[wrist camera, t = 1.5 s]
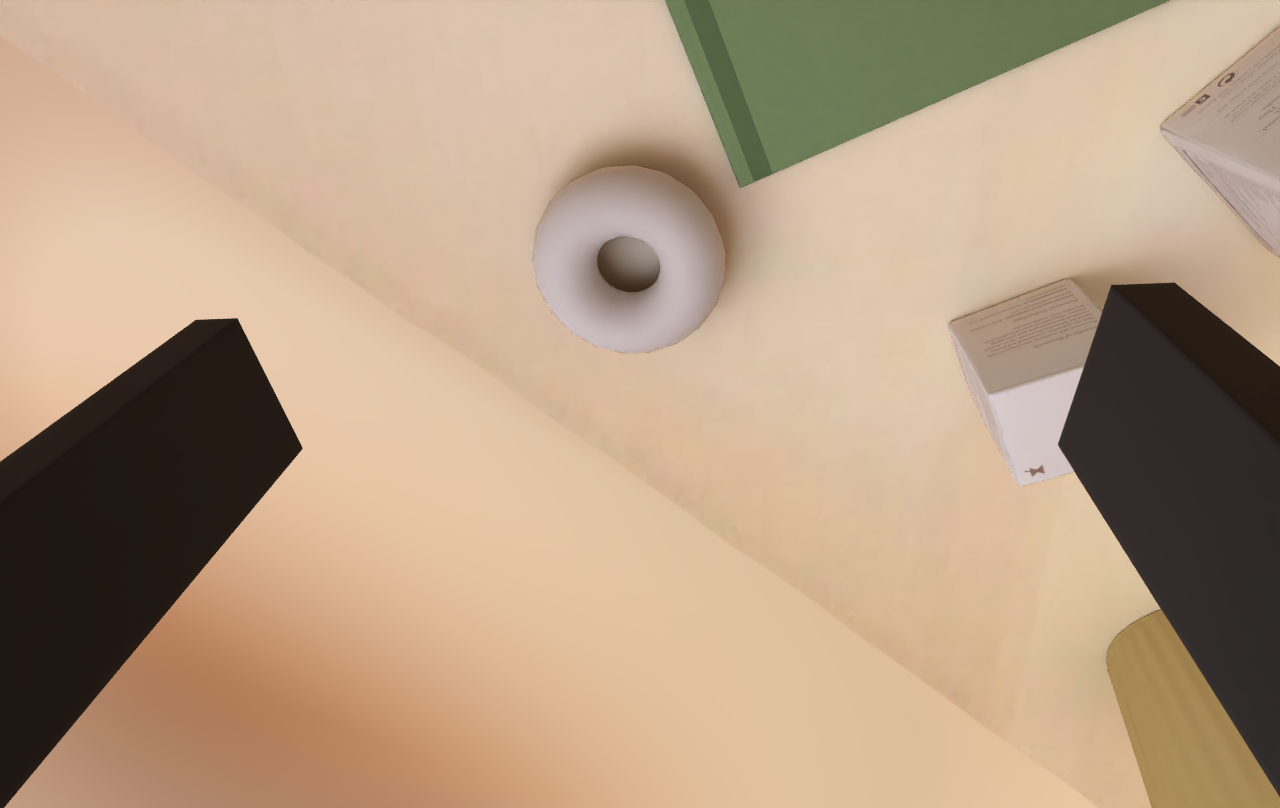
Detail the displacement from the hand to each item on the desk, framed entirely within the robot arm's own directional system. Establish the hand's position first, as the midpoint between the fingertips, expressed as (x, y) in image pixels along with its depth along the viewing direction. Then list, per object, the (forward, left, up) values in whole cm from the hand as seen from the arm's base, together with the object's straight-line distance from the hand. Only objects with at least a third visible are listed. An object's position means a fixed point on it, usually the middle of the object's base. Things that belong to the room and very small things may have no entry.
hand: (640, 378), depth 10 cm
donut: (+6, -7, -25) cm, 26 cm away
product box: (+19, +10, -25) cm, 33 cm away
